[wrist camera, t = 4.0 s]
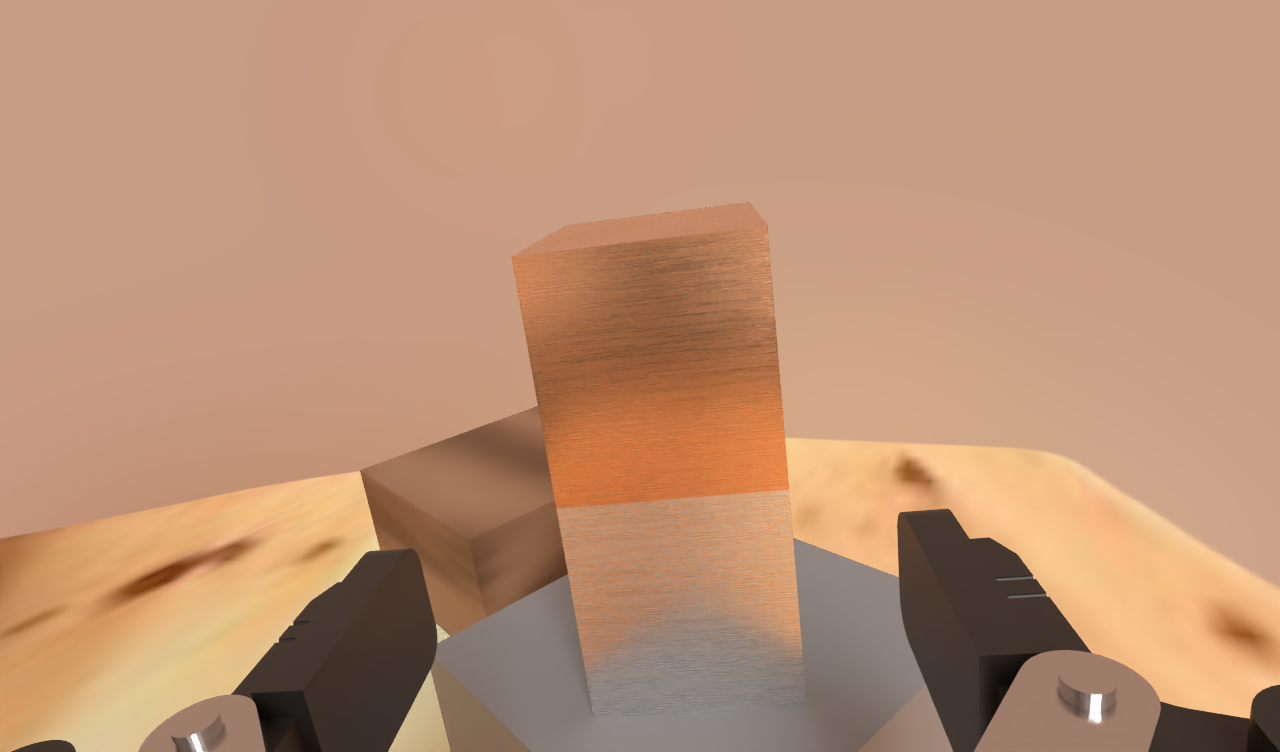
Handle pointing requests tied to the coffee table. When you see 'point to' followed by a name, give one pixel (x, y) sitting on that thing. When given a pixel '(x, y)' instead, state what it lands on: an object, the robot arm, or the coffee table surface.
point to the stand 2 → (696, 741)
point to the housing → (668, 457)
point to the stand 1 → (473, 517)
